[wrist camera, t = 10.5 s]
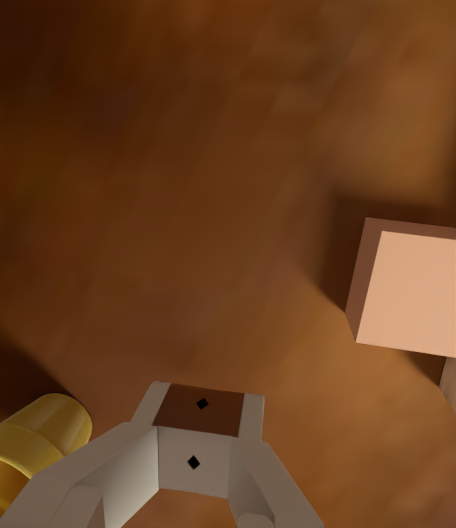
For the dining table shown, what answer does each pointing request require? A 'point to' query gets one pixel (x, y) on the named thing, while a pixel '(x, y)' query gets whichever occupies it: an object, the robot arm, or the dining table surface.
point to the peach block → (405, 287)
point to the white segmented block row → (449, 381)
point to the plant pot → (39, 440)
